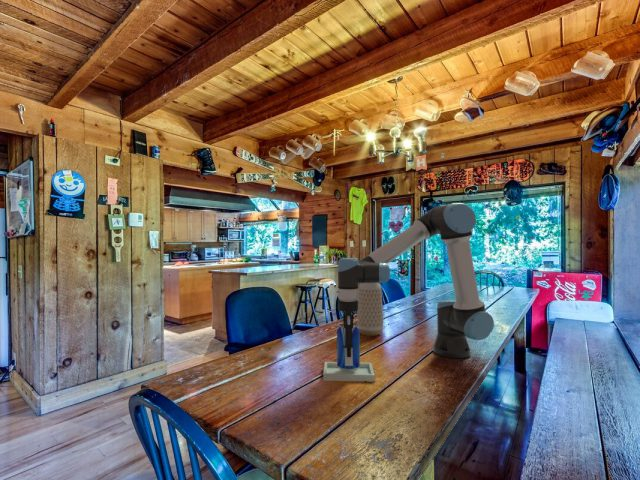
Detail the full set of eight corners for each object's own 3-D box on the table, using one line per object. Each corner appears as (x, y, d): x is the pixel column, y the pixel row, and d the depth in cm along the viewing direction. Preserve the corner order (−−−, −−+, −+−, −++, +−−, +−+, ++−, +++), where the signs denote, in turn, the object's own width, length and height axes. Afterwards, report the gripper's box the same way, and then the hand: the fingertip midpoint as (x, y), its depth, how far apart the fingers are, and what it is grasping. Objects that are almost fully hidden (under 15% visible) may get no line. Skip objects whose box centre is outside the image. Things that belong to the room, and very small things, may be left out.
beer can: (358, 373, 119) (358, 328, 119) (335, 371, 121) (335, 327, 121) (360, 364, 127) (360, 322, 127) (338, 363, 129) (338, 322, 129)
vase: (387, 332, 180) (386, 275, 180) (377, 338, 169) (376, 277, 169) (363, 328, 188) (363, 274, 188) (352, 334, 176) (352, 276, 176)
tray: (371, 368, 129) (371, 362, 129) (374, 381, 117) (374, 375, 117) (324, 367, 130) (324, 361, 130) (323, 380, 118) (323, 374, 118)
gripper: (338, 294, 135) (338, 351, 135) (337, 305, 114) (338, 371, 114) (356, 295, 134) (357, 351, 134) (360, 305, 113) (360, 372, 113)
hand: (348, 360), depth 124 cm, fingers closed on beer can, 8 cm apart
